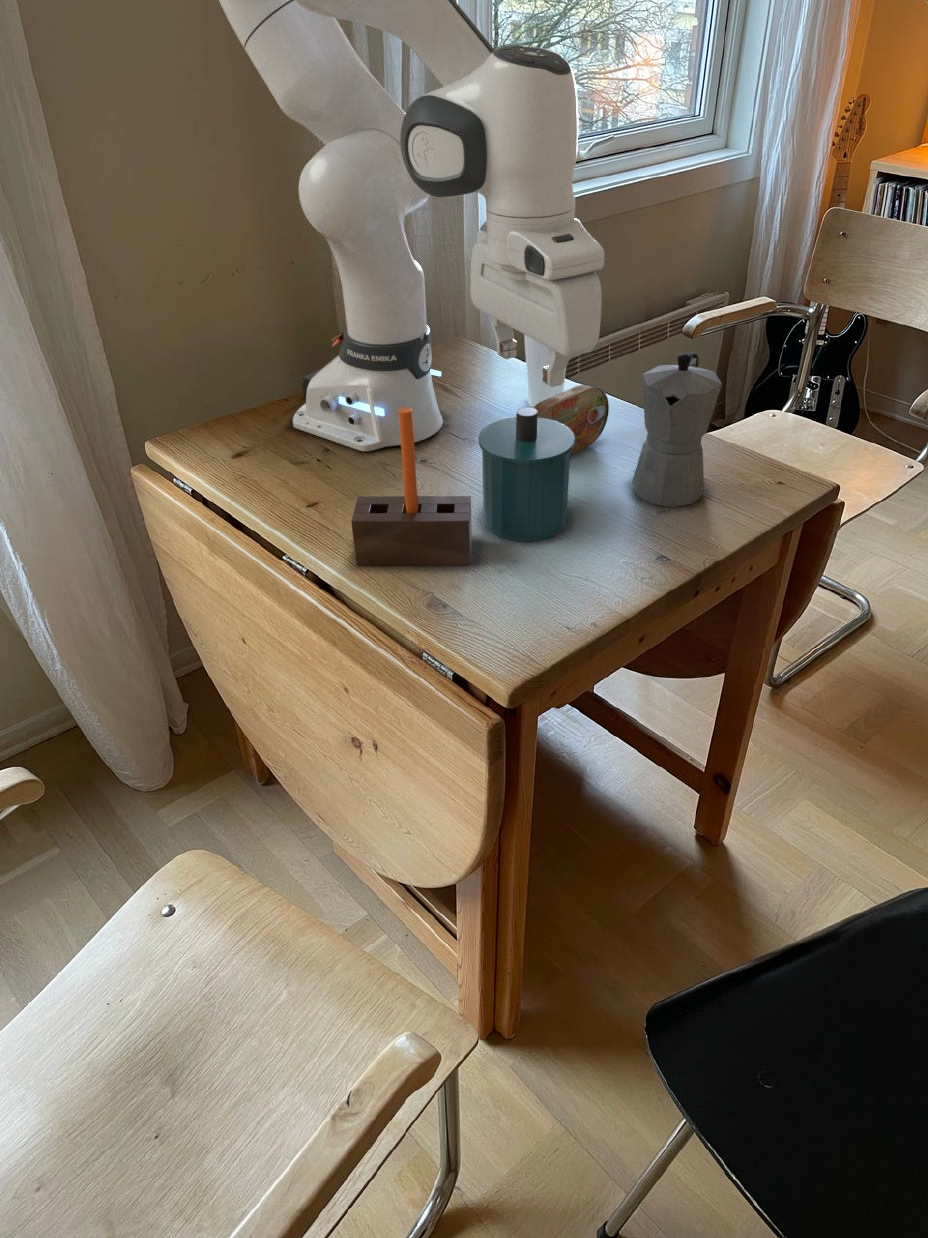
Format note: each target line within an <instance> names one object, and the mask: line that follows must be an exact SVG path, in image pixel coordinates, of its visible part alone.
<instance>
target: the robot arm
mask: <svg viewBox="0 0 928 1238" xmlns="http://www.w3.org/2000/svg"><path fill="white" fill-rule="evenodd" d="M218 2H219V3H220V6H221V8H222V10H223V12H224V14H225V16H226V19H227V20H228V22H229V24H230V26H231V28H232V30H233V33H234V34H235V35H236V37H237V39H238V41H239V42H240V44H241V46H242V47H243V49H244V51H245V52H246V54H247V56H248V57H249V59H250V61H251V62H252V64H253V65H254V67H255V69H256V70H257V72H258V74H259V75H260V77H261V79H262V80H263V82H264V84H265V86H266V87H267V89H268V90H269V91H270V94H271V96H273V98H274V100H275V101H276V103H277V105H278V106H279V108H280V110H281V111H282V112H283V113H284V114H285V116H287V117H288V118H289V119H290V120H292V121H294V122H296V123H297V124H300V125H301V126H302V127H305V129H306V130H308V131H309V132H311V133H312V134H313V136H315V137H316V138H317V139H318V140H319V141H320V142H321V143H322V144H323V145H324V146H323V147H322V148H321V149H320V150H318V152H316V154H314V155H313V156H312V157H311V158H310V160H309V161H308V162H307V163H306V164H305V166H304V167H303V169H302V171H301V173H300V176H299V181H298V197H299V203H300V206H301V209H302V211H303V214H304V215H305V217H306V219H307V221H308V222H309V224H310V226H312V227H313V228H314V229H315V230H316V231H317V232H318V233H319V234H321V235H322V236H323V237H324V238H325V240H326V242H327V244H328V246H329V248H330V251H331V253H332V256H333V258H334V261H335V264H336V268H337V270H338V274H339V279H340V283H341V290H342V291H341V292H342V297H343V306H344V313H345V323H346V328H345V329H343V330H341V331H340V332H339V335H336V336H335V337H333V338H332V339H331V342H333V344H332V345H331V347H332V348H335V347H337V346H338V345H340V349H339V352H338V355H337V356H336V357H334V358H333V359H332V360H331V361H329V362H328V363H327V364H326V365H325V366H322V367H321V368H319V369H317V370H315V371H313V372H311V373H309V374H308V375H305V376H303V377H302V384H301V385H302V393H303V396H304V397H305V403H304V404H303V405H302V406H301V407H299V408H298V409H297V411H296V412H295V413H294V414H293V417H292V427H293V428H294V429H296V430H300V431H303V432H305V433H308V434H311V435H314V436H317V437H319V438H322V439H325V440H328V441H331V442H334V443H336V444H340V445H342V446H345V447H348V448H351V449H354V450H357V451H361V452H371V451H375V450H379V449H382V448H386V447H387V448H388V447H394V446H396V447H397V446H401V437H400V424H399V409H400V408H403V407H408V408H411V409H412V422H413V437H414V443H417V442H421V441H423V440H426V439H428V438H430V437H432V436H434V435H435V434H436V433H438V432H439V431H440V430H441V428H442V426H443V423H444V420H443V417H442V414H441V412H440V409H439V405H438V402H437V398H436V393H435V389H434V382H433V379H432V378H433V377H432V376H437V377H442V371H439V370H435V369H432V364H433V363H432V361H433V360H432V357H433V356H432V355H433V354H432V340H431V328H430V327H429V326H428V325H427V323H428V322H427V321H428V320H427V305H426V303H427V302H426V287H425V284H426V283H425V274H424V270H423V268H422V266H421V265H420V264H419V262H418V261H416V260H415V259H414V257H413V255H412V252H411V250H410V246H409V244H408V239H407V236H406V232H405V231H406V230H405V217H406V216H407V215H409V214H410V213H413V212H414V211H416V210H417V209H419V208H421V207H422V206H423V205H424V204H425V203H426V202H427V201H428V199H429V198H430V197H431V196H432V197H435V198H457V197H461V196H464V195H469V194H480V195H482V197H483V198H484V199H485V215H486V216H485V219H486V220H485V221H484V222H483V224H482V225H481V226H480V228H479V229H478V230H477V234H476V236H477V237H476V243H475V244H474V245H473V248H472V251H471V259H470V279H469V280H470V281H469V283H470V284H469V292H470V293H469V295H470V299H471V302H472V304H473V307H474V308H475V309H477V310H479V311H481V312H482V313H484V314H486V315H488V316H490V326H491V328H492V329H491V330H492V332H493V335H494V338H495V341H496V354H497V355H498V356H500V358H502V359H505V360H509V359H514V358H515V357H517V354H518V350H517V349H518V341H517V340H515V339H514V336H513V331H512V330H513V329H514V330H516V331H518V332H519V333H521V334H523V335H524V334H525V335H527V336H528V337H530V338H532V339H534V340H536V341H538V342H539V343H541V344H543V345H545V346H547V347H548V356H550V357H551V359H550V362H549V365H548V366H547V367H543V382H545V383H546V384H548V385H549V386H551V387H555V386H559V385H562V383H563V382H564V369H565V367H566V368H567V366H568V364H569V362H570V360H571V358H572V357H577V356H580V355H584V354H588V353H590V352H592V351H593V350H594V349H595V347H596V346H597V345H598V342H599V340H600V331H601V323H602V322H601V320H602V300H603V299H602V298H603V296H602V285H601V284H602V283H601V280H600V278H599V276H598V274H597V273H596V272H598V271H601V270H602V269H603V268H604V266H605V249H604V247H603V246H602V245H601V244H600V243H599V242H598V241H597V240H596V239H595V238H594V237H592V235H591V233H589V232H588V231H587V230H586V228H585V227H584V225H583V224H582V223H581V221H580V220H579V219H577V218H576V197H575V193H574V188H573V176H574V170H575V166H576V164H577V163H576V162H577V160H578V145H579V144H578V143H579V142H578V141H579V140H578V138H579V122H578V121H579V116H578V115H579V113H578V111H579V110H578V97H577V94H578V93H577V87H576V80H575V75H574V71H573V69H572V66H571V65H570V63H569V62H568V60H567V59H565V58H564V57H562V55H560V54H558V53H556V52H554V51H552V50H549V49H546V48H542V47H537V46H525V45H508V46H502V47H499V48H497V49H495V48H494V47H493V45H492V44H491V43H490V42H489V41H488V40H487V38H486V37H485V36H484V35H483V33H482V32H481V31H480V30H479V28H478V27H477V26H476V25H475V24H474V23H473V21H472V20H471V19H470V17H469V16H468V15H467V14H466V12H465V11H464V10H463V9H462V8H461V6H460V5H459V4H458V2H457V1H456V0H218ZM338 20H345V21H350V22H353V23H358V24H362V25H366V26H369V27H372V28H375V29H378V30H381V31H383V32H385V33H388V34H389V35H392V36H393V37H395V38H396V39H399V40H400V41H402V42H403V43H404V44H405V45H406V46H407V47H409V48H410V49H411V51H413V53H414V54H415V55H416V56H417V57H418V58H419V59H420V60H421V62H422V63H423V64H424V66H425V67H426V68H427V69H428V71H430V73H431V74H432V75H433V76H434V78H435V79H436V80H437V81H438V83H440V85H441V86H442V87H439V88H437V89H434V90H431V91H429V92H427V93H425V94H423V95H422V96H419V97H418V98H416V99H415V100H414V101H412V103H411V104H410V105H409V106H408V108H407V110H406V112H405V111H404V110H403V108H402V107H401V106H400V105H399V104H398V103H397V102H396V100H394V98H393V97H392V96H391V95H390V94H389V93H388V92H387V90H386V89H385V88H384V87H383V86H382V84H380V82H379V81H378V80H377V78H375V76H374V75H373V74H372V73H371V71H370V70H369V69H368V68H367V66H366V65H365V64H364V63H363V61H362V59H361V58H360V57H359V55H358V54H357V52H356V50H355V49H354V46H352V44H351V42H350V41H349V39H348V37H347V36H346V34H345V32H344V30H343V28H342V26H341V25H340V22H338ZM564 383H565V382H564Z"/></svg>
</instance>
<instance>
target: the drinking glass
mask: <svg viewBox="0 0 928 1238" xmlns="http://www.w3.org/2000/svg"><path fill="white" fill-rule="evenodd" d="M523 338H524V352H525V353H524V355H525V368H526V383H527V404H528V407H530V408H533V407H534V406H535V405H536V404H538V403H539V402H541V401H544V400H546V399H548V398H551V397H553V396H555V395H557V394H560V393H562V392H564V391H565V390H564V389H565V380H566V373H567V366H566V367H565V369H564V382H563V383H562V385H559V386H555V387H551V386H549V385H548V384H546V383H545V382H543V367H547V366H548V365H549V362H550V359H551V357H550V356H548V347H547V346H545V345H543V344H541V343H539V342H538V341H536V340H534V339H532V338H530V337H528V336H527V335H525V334H523Z"/></svg>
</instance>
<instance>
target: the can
mask: <svg viewBox="0 0 928 1238" xmlns="http://www.w3.org/2000/svg"><path fill="white" fill-rule="evenodd" d="M481 450H482V449H481ZM481 455H482V506H483V507H482V508H483V509H482V512H483V513H482V514H483V515H482V517H483V522H484V525H485V527H486V528H487V530H488V531H490V533H492V534H493V535H495V536H498V537H500V538H502V539H504V540H505V539H506V540H509V541H514V542H537V541H543V540H547V539H549V538H552V537H554V536H555V535H557V534H559V533H560V532H561V531H562V530H563V529H564V528H565V527H566V524H567V519H568V518H567V517H568V516H567V515H568V500H569V484H570V483H569V480H570V465H571V461H570V460H571V455H570V452H569V453H567V454H566V455H564V456H563V457H560V458H558V459H555V460H552V461H548V462H543V463H534V464H519V463H511V462H506V461H501V460H498V459H496V458H493V457H491V456H489V455H487V454H486V453H485V452H484V451H483V450H482V452H481Z"/></svg>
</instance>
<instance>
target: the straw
mask: <svg viewBox="0 0 928 1238" xmlns="http://www.w3.org/2000/svg"><path fill="white" fill-rule="evenodd" d="M399 424H400V437H401V445H400V448H401V449H400V451H401V462H402V464H401V465H402V475H403V488H404V489H403V490H404V496H405V503H406V513H419V512H418V497H417V496H418V485H417V482H418V481H417V469H416V455H415V452H416V451H415V442H414V437H413V422H412V409H411V408H408V407H403V408H400V409H399Z"/></svg>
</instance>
